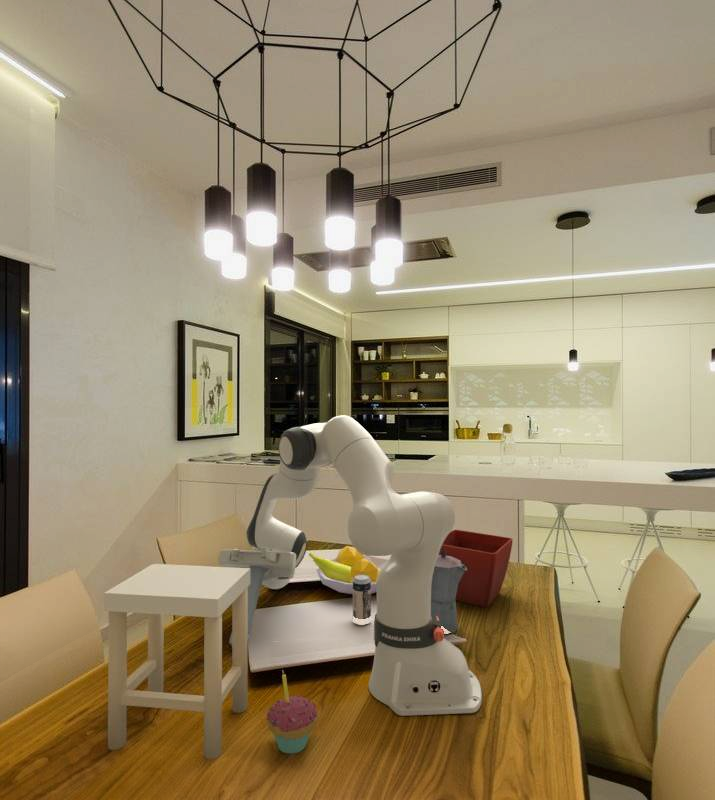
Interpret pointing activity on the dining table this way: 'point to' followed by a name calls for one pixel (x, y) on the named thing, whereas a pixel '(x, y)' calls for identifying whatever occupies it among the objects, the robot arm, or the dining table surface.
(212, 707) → the stool
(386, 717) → the dining table surface
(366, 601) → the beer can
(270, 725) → the cupcake
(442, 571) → the moka pot
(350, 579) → the fruit bowl
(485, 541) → the plant pot
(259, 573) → the blue-gray rectangular bar
